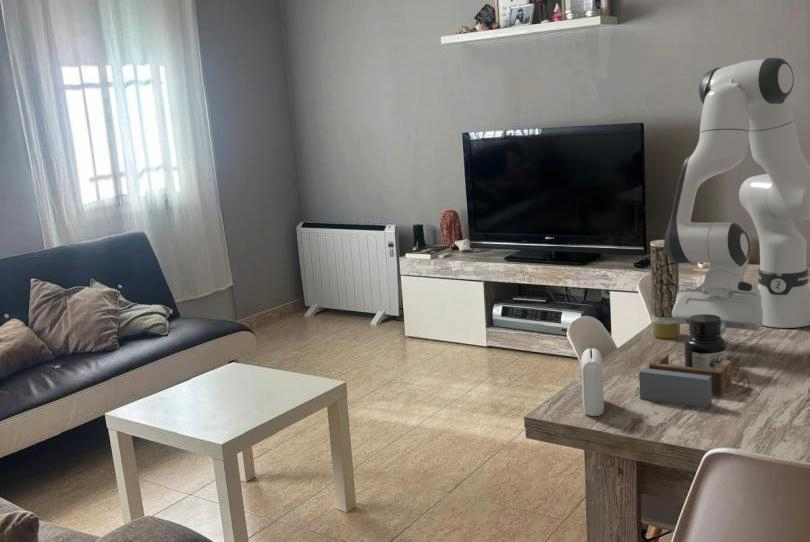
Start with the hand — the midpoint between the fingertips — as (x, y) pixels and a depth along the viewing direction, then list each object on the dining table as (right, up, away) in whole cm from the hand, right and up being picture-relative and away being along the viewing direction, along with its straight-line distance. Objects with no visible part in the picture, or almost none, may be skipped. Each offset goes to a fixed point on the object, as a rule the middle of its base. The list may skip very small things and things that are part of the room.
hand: (710, 340), depth 192 cm
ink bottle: (-2, -6, -3) cm, 7 cm away
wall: (-15, -11, -21) cm, 28 cm away
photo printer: (-32, -12, -21) cm, 40 cm away
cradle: (-9, -8, -12) cm, 17 cm away
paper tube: (-3, -1, +23) cm, 24 cm away
